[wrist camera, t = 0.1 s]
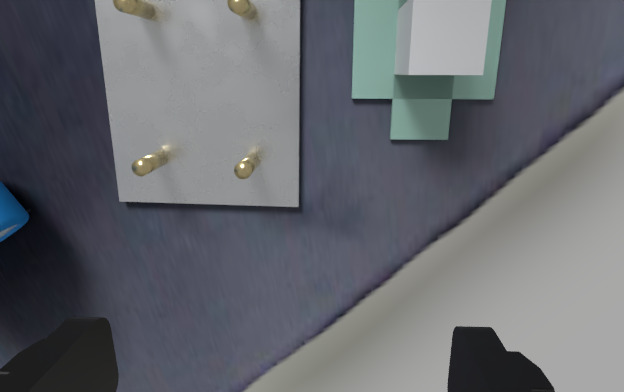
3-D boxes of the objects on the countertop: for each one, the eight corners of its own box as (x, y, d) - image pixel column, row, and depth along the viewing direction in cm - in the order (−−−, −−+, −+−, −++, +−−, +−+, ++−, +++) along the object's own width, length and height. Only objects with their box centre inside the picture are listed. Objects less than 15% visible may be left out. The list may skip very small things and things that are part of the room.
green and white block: (356, -64, 33) (362, -104, 25) (510, -66, 32) (563, -107, 25) (350, 137, 37) (354, 153, 30) (485, 138, 37) (523, 155, 29)
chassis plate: (94, -46, 34) (56, -65, 29) (301, -45, 33) (295, -64, 28) (123, 198, 40) (96, 215, 35) (299, 204, 39) (294, 221, 35)
